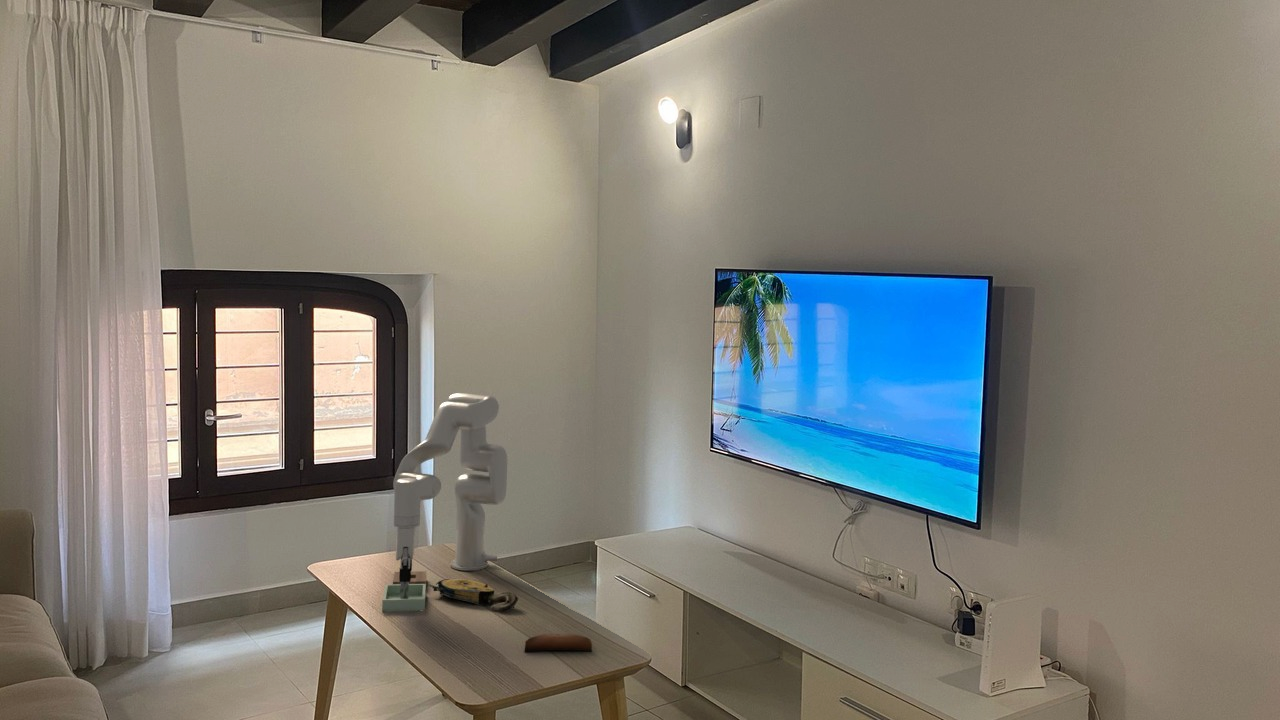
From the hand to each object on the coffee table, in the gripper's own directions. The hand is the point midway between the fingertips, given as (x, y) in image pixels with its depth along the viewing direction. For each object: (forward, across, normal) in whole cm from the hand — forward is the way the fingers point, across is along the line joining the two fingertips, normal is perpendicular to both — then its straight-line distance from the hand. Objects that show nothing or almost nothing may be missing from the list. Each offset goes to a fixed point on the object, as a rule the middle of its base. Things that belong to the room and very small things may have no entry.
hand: (405, 576), depth 284 cm
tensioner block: (+8, -16, +1) cm, 18 cm away
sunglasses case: (+9, +37, +42) cm, 57 cm away
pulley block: (+9, 0, +21) cm, 23 cm away
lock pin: (+8, 0, 0) cm, 8 cm away
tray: (+8, 0, 0) cm, 8 cm away
